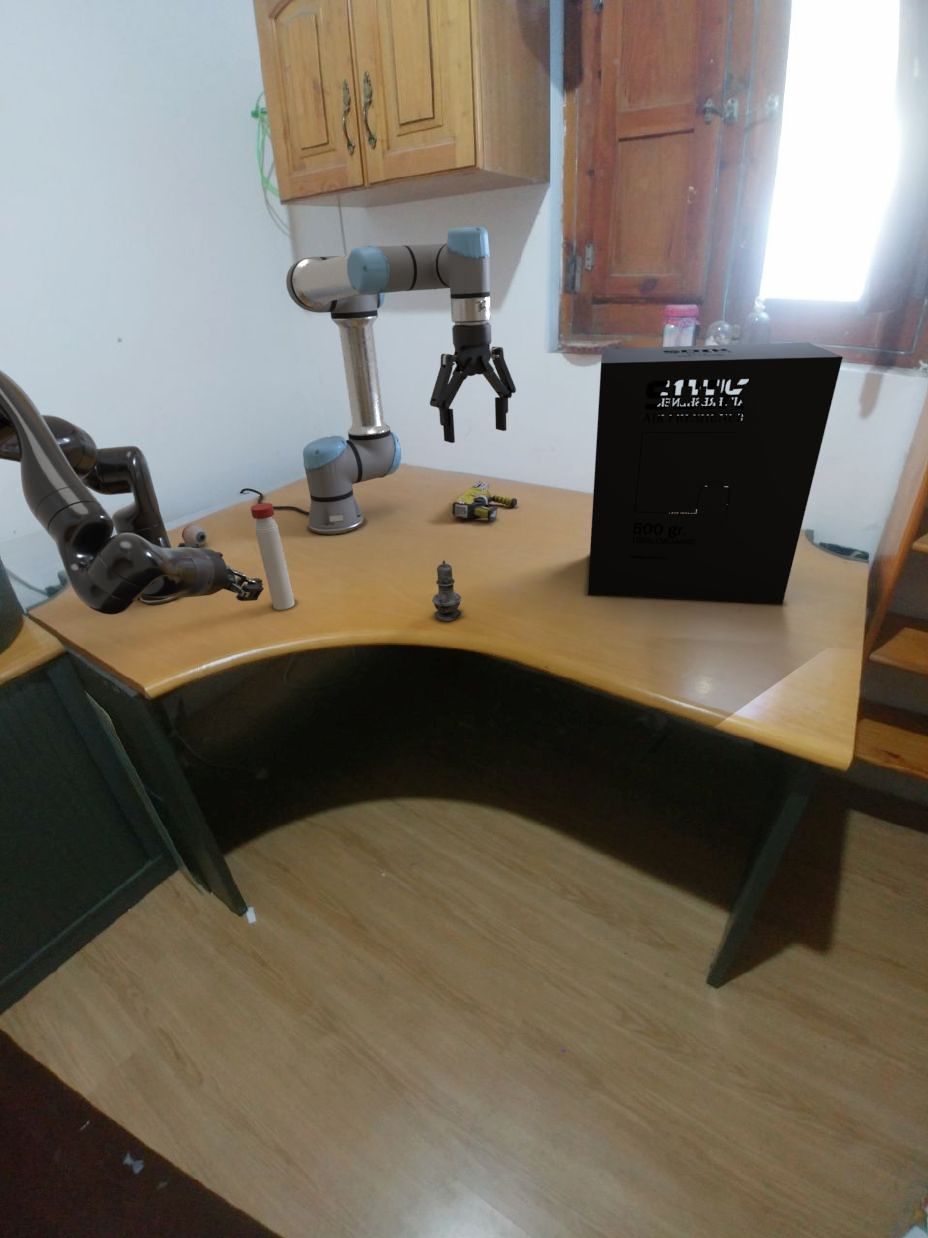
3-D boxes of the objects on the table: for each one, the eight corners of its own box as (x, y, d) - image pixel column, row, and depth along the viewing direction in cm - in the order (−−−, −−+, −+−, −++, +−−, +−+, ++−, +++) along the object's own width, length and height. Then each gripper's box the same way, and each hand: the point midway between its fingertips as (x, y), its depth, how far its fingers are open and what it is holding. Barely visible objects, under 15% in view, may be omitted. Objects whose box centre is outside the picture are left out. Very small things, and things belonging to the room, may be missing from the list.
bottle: (292, 609, 128) (271, 511, 117) (271, 610, 127) (248, 513, 117) (296, 599, 131) (275, 503, 121) (275, 601, 131) (253, 505, 120)
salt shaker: (459, 622, 119) (455, 567, 113) (430, 620, 120) (425, 566, 114) (464, 608, 124) (461, 554, 118) (437, 606, 125) (432, 553, 119)
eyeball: (196, 552, 157) (189, 530, 154) (181, 548, 160) (174, 526, 157) (215, 543, 161) (209, 522, 158) (200, 540, 165) (193, 519, 162)
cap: (272, 518, 118) (270, 509, 117) (250, 519, 117) (248, 510, 116) (276, 510, 121) (274, 502, 120) (255, 512, 121) (253, 503, 120)
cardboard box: (760, 561, 136) (807, 342, 113) (782, 604, 118) (842, 356, 96) (590, 554, 143) (602, 348, 121) (587, 594, 126) (601, 362, 104)
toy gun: (525, 486, 181) (478, 479, 184) (503, 510, 160) (450, 501, 164) (523, 501, 183) (477, 494, 187) (501, 526, 163) (450, 518, 167)
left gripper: (140, 567, 92) (196, 567, 108) (216, 618, 92) (261, 610, 108) (163, 525, 91) (216, 531, 108) (241, 577, 91) (282, 575, 107)
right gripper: (428, 329, 107) (436, 450, 117) (533, 317, 119) (532, 427, 130) (405, 328, 112) (416, 443, 123) (508, 317, 124) (509, 422, 135)
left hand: (239, 571), depth 108 cm, fingers open, 8 cm apart
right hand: (475, 435), depth 126 cm, fingers open, 13 cm apart
